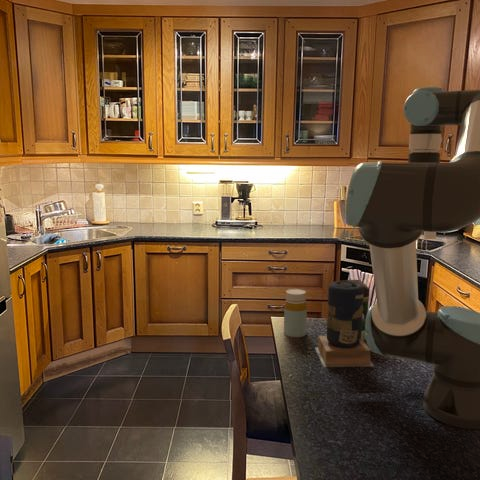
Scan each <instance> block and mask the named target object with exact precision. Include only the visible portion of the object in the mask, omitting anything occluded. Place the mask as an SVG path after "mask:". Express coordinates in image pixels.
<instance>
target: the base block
mask: <svg viewBox="0 0 480 480" xmlns="http://www.w3.org/2000/svg"><path fill="white" fill-rule="evenodd" d="M317 342H318V344H317V347H318V349H319V352H320V354H321V356H322V358H323V360H324V362H325V365H370V361H371V354H372V353H371V352H372V351H371V350H370V349H369V347H368V345H367V342H365V340H363V339H362V338H361V342H360V343H359V344H358V345H356V346H353V347H339V346H335V345H333V344H331V343H330V342H329V341H328V340H327V335H318V341H317Z"/></svg>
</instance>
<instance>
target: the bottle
mask: <svg viewBox="0 0 480 480" xmlns="http://www.w3.org/2000/svg"><path fill="white" fill-rule="evenodd" d="M306 292H307V291H306V290H304V289H302V288H289V289H286V291H285V303H284V306H283V307H284V309H283V310H284V311H283V312H284V313H283V314H284V315H283V316H284V317H283V334H284V335H285V336H287V337H290V338H301V337H305V336H306V335H307V323H308V322H307V316H308V313H307V312H308V311H307V310H308V306H307V302H306V300H307V299H306V298H307V296H306V295H307V293H306Z"/></svg>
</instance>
